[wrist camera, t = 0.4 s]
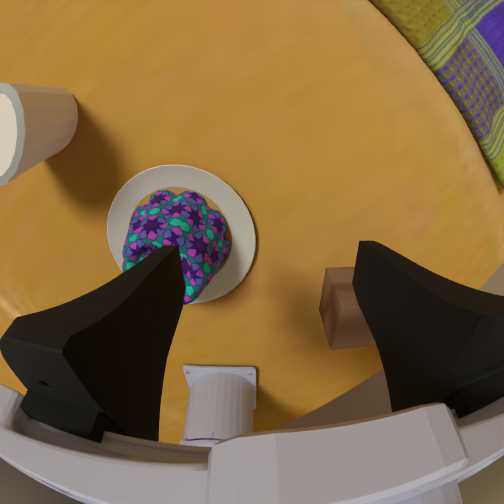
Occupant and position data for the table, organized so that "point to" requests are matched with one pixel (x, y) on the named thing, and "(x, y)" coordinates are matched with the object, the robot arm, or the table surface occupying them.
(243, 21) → the table surface
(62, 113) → the white tapered cup
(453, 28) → the dish towel
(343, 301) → the walnut block
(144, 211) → the pudding
